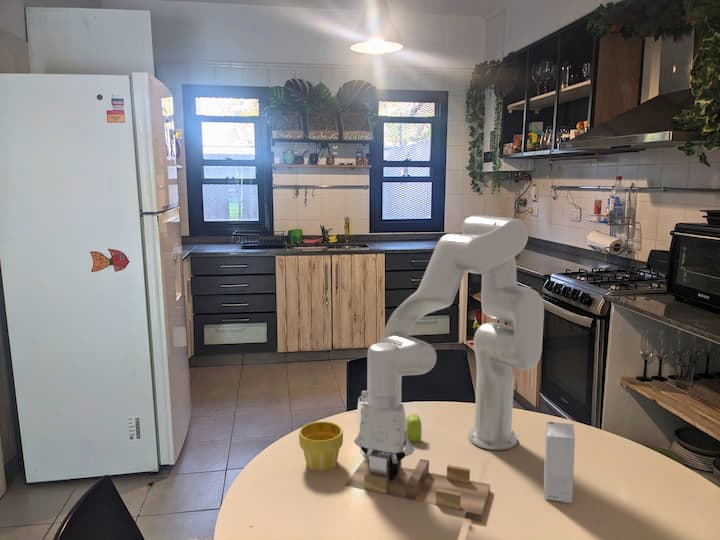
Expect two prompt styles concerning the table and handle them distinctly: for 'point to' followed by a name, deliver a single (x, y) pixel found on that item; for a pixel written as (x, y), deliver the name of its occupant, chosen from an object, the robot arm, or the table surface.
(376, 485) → the board
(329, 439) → the plant pot
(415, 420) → the dumbbell
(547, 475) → the skincare box
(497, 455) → the table surface
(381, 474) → the grey rectangular block
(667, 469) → the table surface
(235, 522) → the table surface
